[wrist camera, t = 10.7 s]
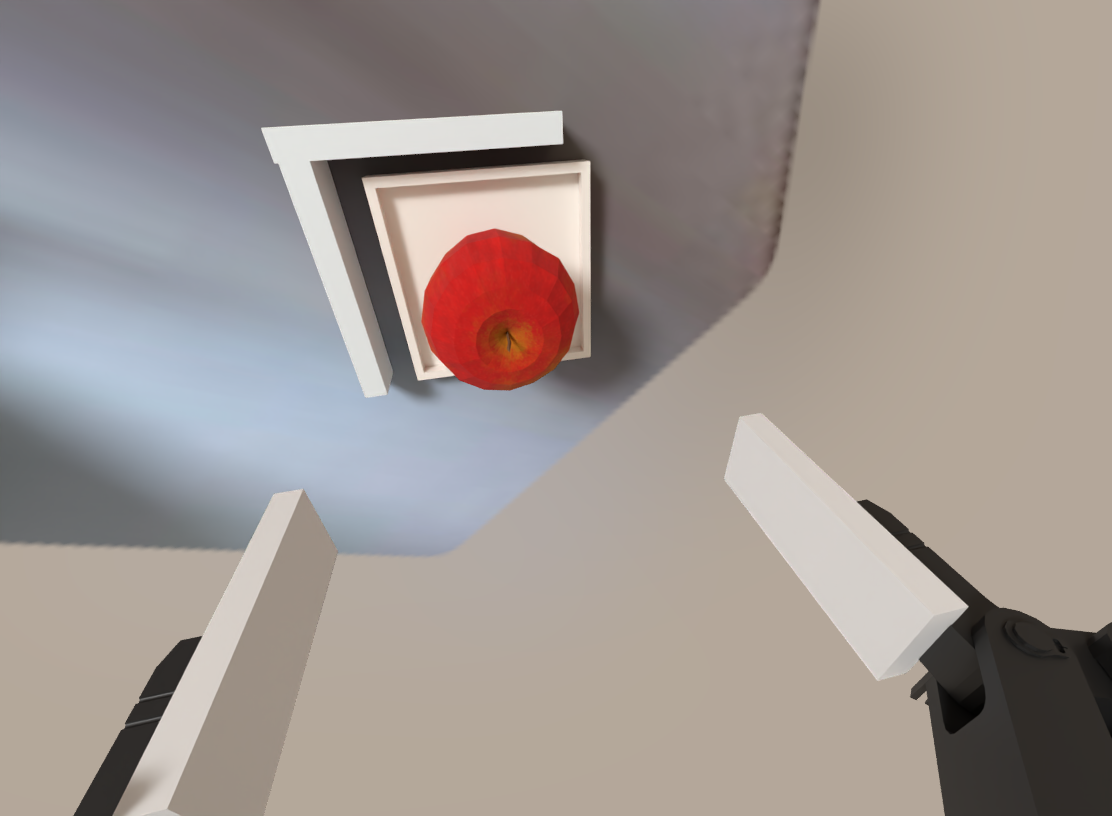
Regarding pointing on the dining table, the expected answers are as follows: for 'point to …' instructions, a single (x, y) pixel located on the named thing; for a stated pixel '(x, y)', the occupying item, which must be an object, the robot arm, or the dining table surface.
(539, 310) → the apple
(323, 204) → the pen walls
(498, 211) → the dish
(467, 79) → the dining table surface
